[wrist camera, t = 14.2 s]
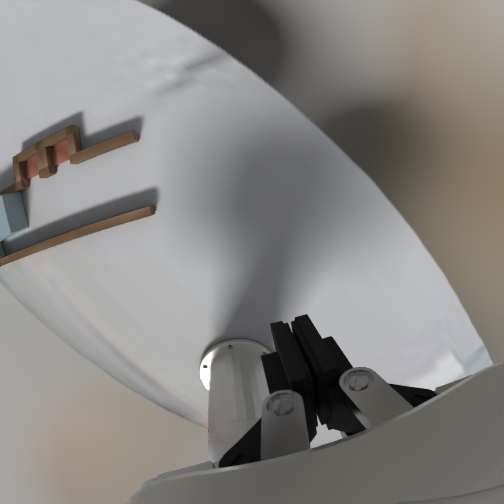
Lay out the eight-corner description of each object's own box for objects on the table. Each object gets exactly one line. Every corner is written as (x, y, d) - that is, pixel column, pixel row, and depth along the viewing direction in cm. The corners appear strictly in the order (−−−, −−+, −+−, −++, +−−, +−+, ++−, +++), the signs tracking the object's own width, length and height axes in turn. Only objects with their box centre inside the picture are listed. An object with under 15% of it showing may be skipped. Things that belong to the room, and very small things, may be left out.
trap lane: (155, 213, 36) (146, 218, 31) (3, 264, 35) (-14, 273, 30) (132, 105, 32) (120, 96, 27) (-17, 181, 30) (-34, 183, 26)
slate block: (29, 226, 34) (11, 233, 29) (2, 240, 34) (-15, 247, 29) (20, 191, 33) (1, 194, 28) (-7, 208, 32) (-24, 213, 27)
